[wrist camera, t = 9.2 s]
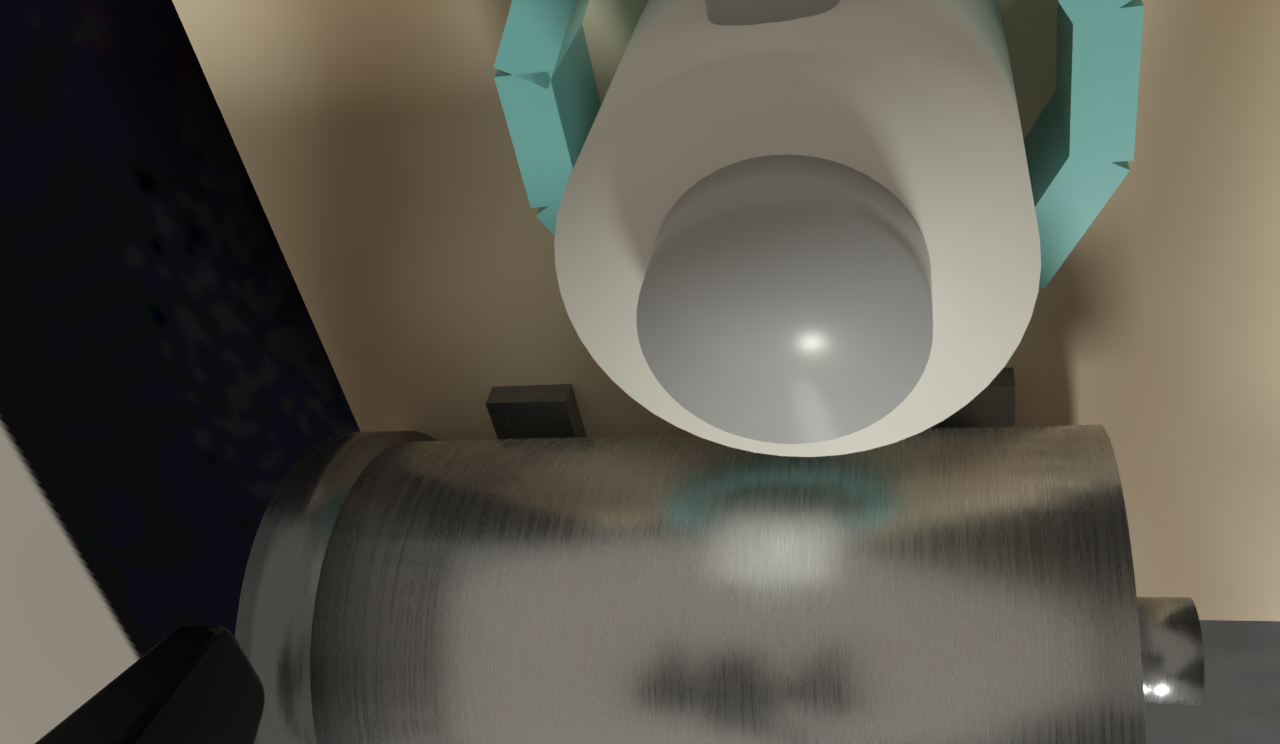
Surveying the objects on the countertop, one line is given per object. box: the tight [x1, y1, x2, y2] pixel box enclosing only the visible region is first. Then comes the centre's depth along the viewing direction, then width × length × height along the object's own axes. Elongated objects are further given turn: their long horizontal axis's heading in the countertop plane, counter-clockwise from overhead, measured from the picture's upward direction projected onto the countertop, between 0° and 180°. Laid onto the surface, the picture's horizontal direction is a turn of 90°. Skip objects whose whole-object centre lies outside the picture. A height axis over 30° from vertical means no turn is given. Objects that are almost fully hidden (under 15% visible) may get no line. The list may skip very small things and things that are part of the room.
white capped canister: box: [554, 0, 1041, 457], centre depth 14 cm, size 5×7×7 cm
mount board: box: [172, 0, 1280, 621], centre depth 20 cm, size 18×17×1 cm
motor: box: [235, 367, 1204, 744], centre depth 20 cm, size 14×7×8 cm, turn 101°
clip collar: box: [494, 0, 1144, 288], centre depth 17 cm, size 8×8×2 cm
